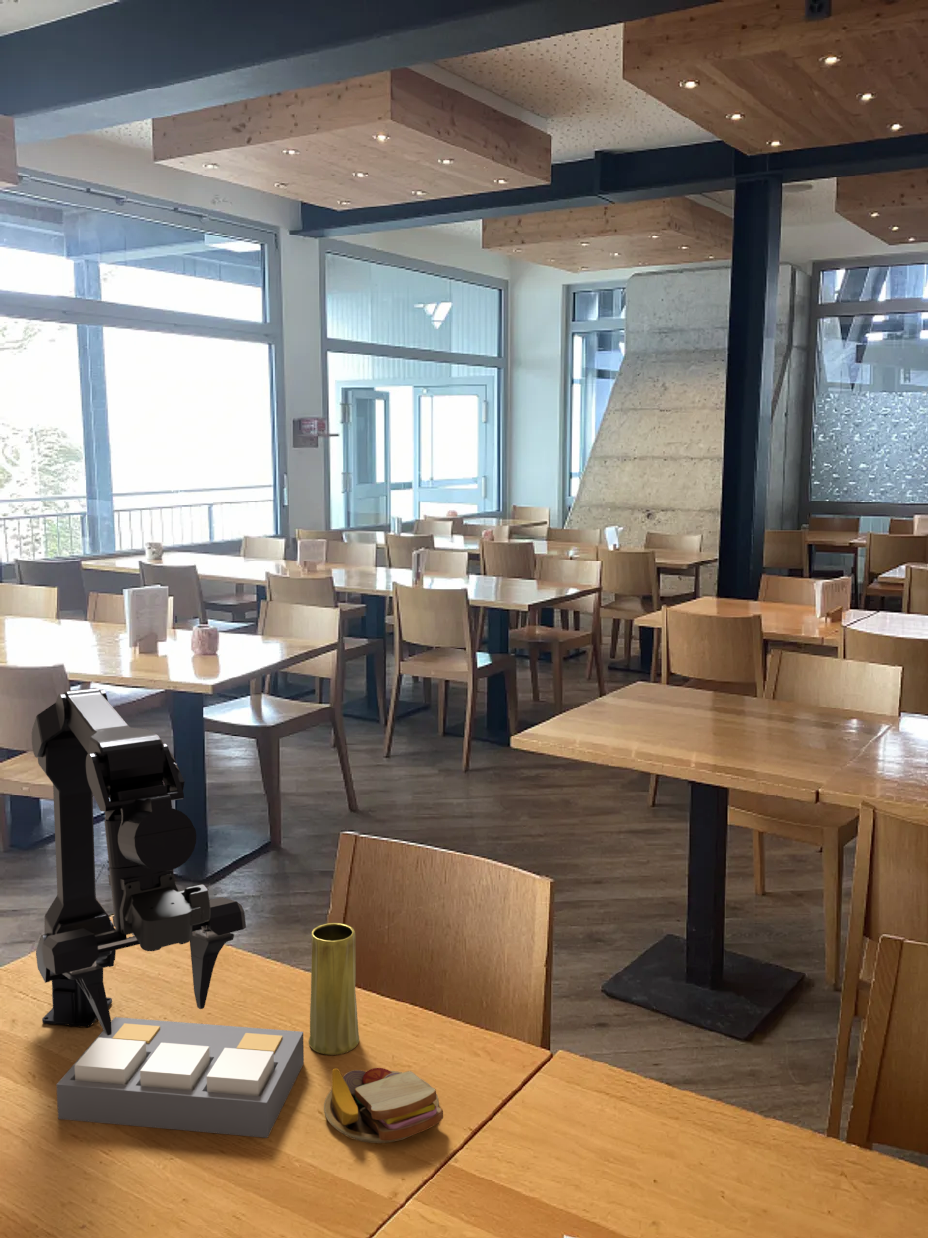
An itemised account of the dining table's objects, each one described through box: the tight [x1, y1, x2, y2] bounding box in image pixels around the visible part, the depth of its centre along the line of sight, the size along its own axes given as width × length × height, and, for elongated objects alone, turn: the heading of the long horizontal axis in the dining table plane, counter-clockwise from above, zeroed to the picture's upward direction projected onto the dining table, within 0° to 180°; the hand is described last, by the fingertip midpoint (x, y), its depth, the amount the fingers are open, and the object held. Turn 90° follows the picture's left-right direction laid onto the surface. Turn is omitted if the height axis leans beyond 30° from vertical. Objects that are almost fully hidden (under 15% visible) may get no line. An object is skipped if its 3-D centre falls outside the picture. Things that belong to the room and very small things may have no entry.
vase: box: [308, 922, 360, 1056], centre depth 129 cm, size 6×6×14 cm
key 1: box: [74, 1038, 146, 1085], centre depth 117 cm, size 6×6×2 cm
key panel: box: [55, 1016, 305, 1139], centre depth 119 cm, size 23×14×4 cm, turn 83°
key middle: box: [140, 1043, 210, 1090], centre depth 116 cm, size 6×6×2 cm
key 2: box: [207, 1048, 274, 1096], centre depth 115 cm, size 6×6×2 cm
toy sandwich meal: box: [323, 1067, 444, 1144], centre depth 115 cm, size 12×14×5 cm
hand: (155, 1021), depth 105 cm, fingers open, 9 cm apart
